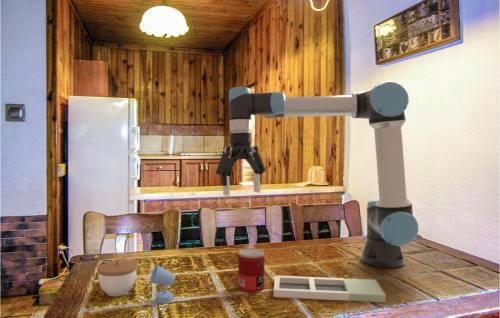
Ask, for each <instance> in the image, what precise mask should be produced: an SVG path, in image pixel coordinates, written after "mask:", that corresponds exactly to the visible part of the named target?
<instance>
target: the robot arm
mask: <svg viewBox="0 0 500 318" xmlns="http://www.w3.org/2000/svg"><path fill="white" fill-rule="evenodd" d="M407 90H408V89H406V88H405V86H403V85H402V84H401V83H399V82H397V81H392V80H389V81H383V82H379V83H378V84H376V85H375V86H374V87H372V88H371V89H368V90H364V91H358V92H357V91H356V92H352V93H351V94H350V95H348V94H347V95H344V94H343V95H317V96H315V95H314V96H311V95H310V96H286V95H285V93H284V92H280V91H278V92H277V91H272V92H258V93H257V92H256V93H255V92H251V89H250V88H249V87H247V86H235V87H232V88H230V89H229V91H228V92H229V93H228V94H229V95H228V111H229V115H228V117H229V132H230V134H229V143H230V146H223V147H222V154H221V158H220V160H219V163H218V165H217V168H216V171H215V174H216V175H217V176H219V177H220V181H221V182H220V183H221V186H222V194H223V196H227V197H229V196H231V190H230V189H231V187H230V185H231V183H230V175H229V173H230V171H231V170H232V168H233V167H234V165H235V164H236V162H237V161H239V160H245V161H246V162H247V163H248V165H249V166H250V168H251V169H252V170H253V172H254V173H253V174H252V175H253V179H252V180H253V192H254V193H261V183H262V175H263V174H264V172H266V168H265V165H264V162H263V159H262V158H261V155H260V152H259V146H257V145H256V146H255V145H254V146H252V142H253V141H252V139H253V137H252V136H253V135H252V132H251V131H252V116H263V117H264V118H265V119H274V118H299V117H300V118H303V117H305V118H307V117H310V118H311V117H345V116H346V117H347V116H350V117H351V118H352V119H367V120H368V125H369V126H370V127H371V128H372V129H373V132H374V143H375V156H376V158H375V159H376V171H377V183H378V185H377V186H378V197H379V199H378V200H369V201H368V202H367V205H366V206H367V207H366V240H365V244H364V246H363V249H362V252H361V262H363V263H365V264H367V265H370V266H374V267H379V268H399V267H403V266H404V265H405V256H404V252H403V250H402V249H403V248H402V247H403V246H408V245H409V244H411V243H412V242H413V241H414V240H415V239H416V238H417V235H418V233H419V223H418V221H417V219H416V217H415V216H414V215H413V214H414V213H413V202H411V201H410V200H409V199H408V198H407V185H406V171H405V157H404V143H403V132H402V128H403V125H404V124H405V123H406V121H407V120H406V119H407V118H406V117H407V116H406V110H407V108H408V107H409V103H410V96H409V92H408V91H407ZM230 154H231V155H230Z"/></svg>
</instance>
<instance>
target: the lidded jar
mask: <svg viewBox="0 0 500 318" xmlns="http://www.w3.org/2000/svg"><path fill="white" fill-rule="evenodd" d="M137 269H138V264H137V263H136V262H135V261H131V260H120V259H116V260H113V261H110V262H106V263H103V264H100V265H99V266H98V267H97V273H98V274H97V275H98V276H97V277H98V284H99V286H100V289H101V290H102V291H103V292H104V293H105V294H106V295H107V296H109V297H121V296H125V295H127V294H128V293H129V291H130V290H131V289H132V288H133V286H134V285H135V282H136V279H137Z"/></svg>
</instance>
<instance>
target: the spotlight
mask: <svg viewBox="0 0 500 318" xmlns="http://www.w3.org/2000/svg"><path fill="white" fill-rule="evenodd" d="M175 280H176V274H174V273H172V272H171V271H169V270H167V269H165V268H164V267H162V266H161V265H158V264H156V265H155V266H154V268H153V270H152V272H151V275H150V279H149V283H150V284H157V285H162V291H159V292H157V293H156V294H155V302H156V303H158V304H169V303H172V302H173V300H174V299H173V297H174V295H173V292H172V291H168V290H167V288H166V287H167V286H173V284H174V282H175Z"/></svg>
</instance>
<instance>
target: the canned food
mask: <svg viewBox="0 0 500 318" xmlns="http://www.w3.org/2000/svg"><path fill="white" fill-rule="evenodd" d="M265 259H266V258H265V251H264V250H261V249H256V248H245V249H241V250H239V251H238V261H237V262H238V263H237V264H238V270H237V271H238V279H237V280H238V286H237V287H238V288H239V290H240V291H242V292H244V293H259V292H262V291H263V290H264V288H265V272H266V271H265V270H266V269H265V265H266V264H265V263H266V262H265Z"/></svg>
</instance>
